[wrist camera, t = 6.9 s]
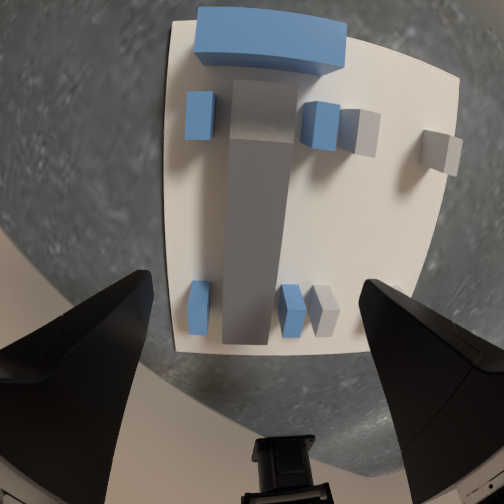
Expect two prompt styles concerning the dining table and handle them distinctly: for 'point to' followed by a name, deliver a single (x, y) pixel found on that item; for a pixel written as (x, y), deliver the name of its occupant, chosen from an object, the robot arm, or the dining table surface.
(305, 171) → the board
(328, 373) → the dining table surface
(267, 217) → the dark grey bar
